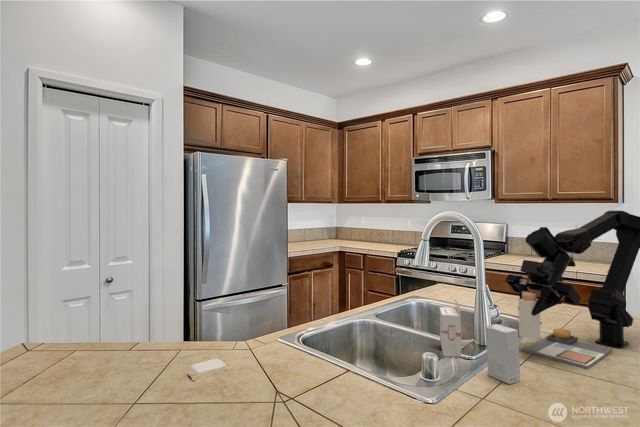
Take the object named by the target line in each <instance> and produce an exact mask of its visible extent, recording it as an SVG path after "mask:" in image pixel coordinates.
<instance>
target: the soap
mask: <svg viewBox="0 0 640 427" xmlns="http://www.w3.org/2000/svg"><path fill="white" fill-rule="evenodd" d="M189 367H190V368H191V369H192V370H193V371H194V372H195V373H202V372H205V371H210V370H214V369H219V368H222V367H226V368H227V364H225V362H224V361H223V360H221V359H219V358H217V357H216V358H211V359H209V360H203V361H201V362H197V363H193V364H191V365H190V366H189Z"/></svg>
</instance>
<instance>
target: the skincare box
mask: <svg viewBox="0 0 640 427" xmlns="http://www.w3.org/2000/svg"><path fill="white" fill-rule="evenodd" d="M485 337H486V338H485V341H486V356H487V357H486V358H487V375H488V376H490V377H492V378H493V379H496V380H498V381H502V382H503V383H506V384H507V385H511V384H515V383H519V382H520V381H521V370H520V369H521V368H520V367H521V366H520V348H519V330H518V329H515V328H512V327H508V326H505V325H502V324H501V325H500V324H499V323H496V324H491V325H486V326H485Z"/></svg>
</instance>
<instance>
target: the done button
mask: <svg viewBox="0 0 640 427" xmlns="http://www.w3.org/2000/svg"><path fill="white" fill-rule="evenodd" d="M552 334H553V335H554V336H555V337H558V338H564V339H568V338H571V336H572V332H571V331H570V330H569V329H565V328H553V330H552Z"/></svg>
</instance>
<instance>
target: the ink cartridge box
mask: <svg viewBox="0 0 640 427" xmlns="http://www.w3.org/2000/svg"><path fill="white" fill-rule="evenodd" d="M454 303H455V304H454V305H455V307H450V306H448V307H447V306H446V307H444V306H443V307H442V306H441V307H440V306H439V329H440V330H439V333H440V334H439V337H440V340H439V342H440V344H439V345H440V348H441V351H442V355H443V357H447V358H450V357H452V358H453V357H454V358H461V357H462V331H461V328H462V327H461V323H462V322H461V311H460V303H459V302H458V300H457V298H456V297H454Z"/></svg>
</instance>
